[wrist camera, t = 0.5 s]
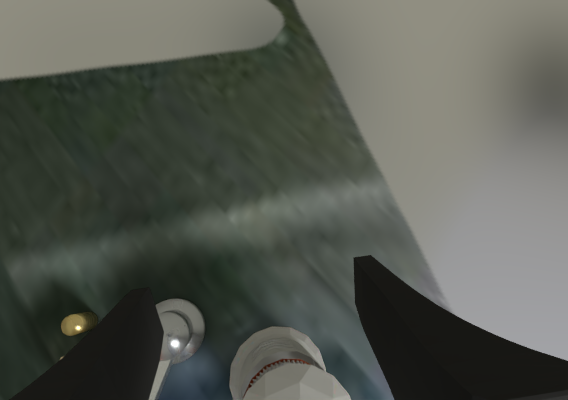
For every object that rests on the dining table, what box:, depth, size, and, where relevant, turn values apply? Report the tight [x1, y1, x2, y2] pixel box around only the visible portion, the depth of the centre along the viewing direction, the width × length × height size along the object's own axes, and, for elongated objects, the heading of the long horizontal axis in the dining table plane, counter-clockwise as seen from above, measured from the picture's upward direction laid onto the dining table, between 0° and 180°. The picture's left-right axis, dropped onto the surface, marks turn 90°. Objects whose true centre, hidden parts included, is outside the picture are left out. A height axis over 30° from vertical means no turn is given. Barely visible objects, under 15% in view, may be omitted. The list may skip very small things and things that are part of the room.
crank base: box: [61, 298, 206, 364], centre depth 35 cm, size 6×12×4 cm, turn 80°
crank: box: [149, 310, 193, 400], centre depth 32 cm, size 11×4×4 cm, turn 160°
